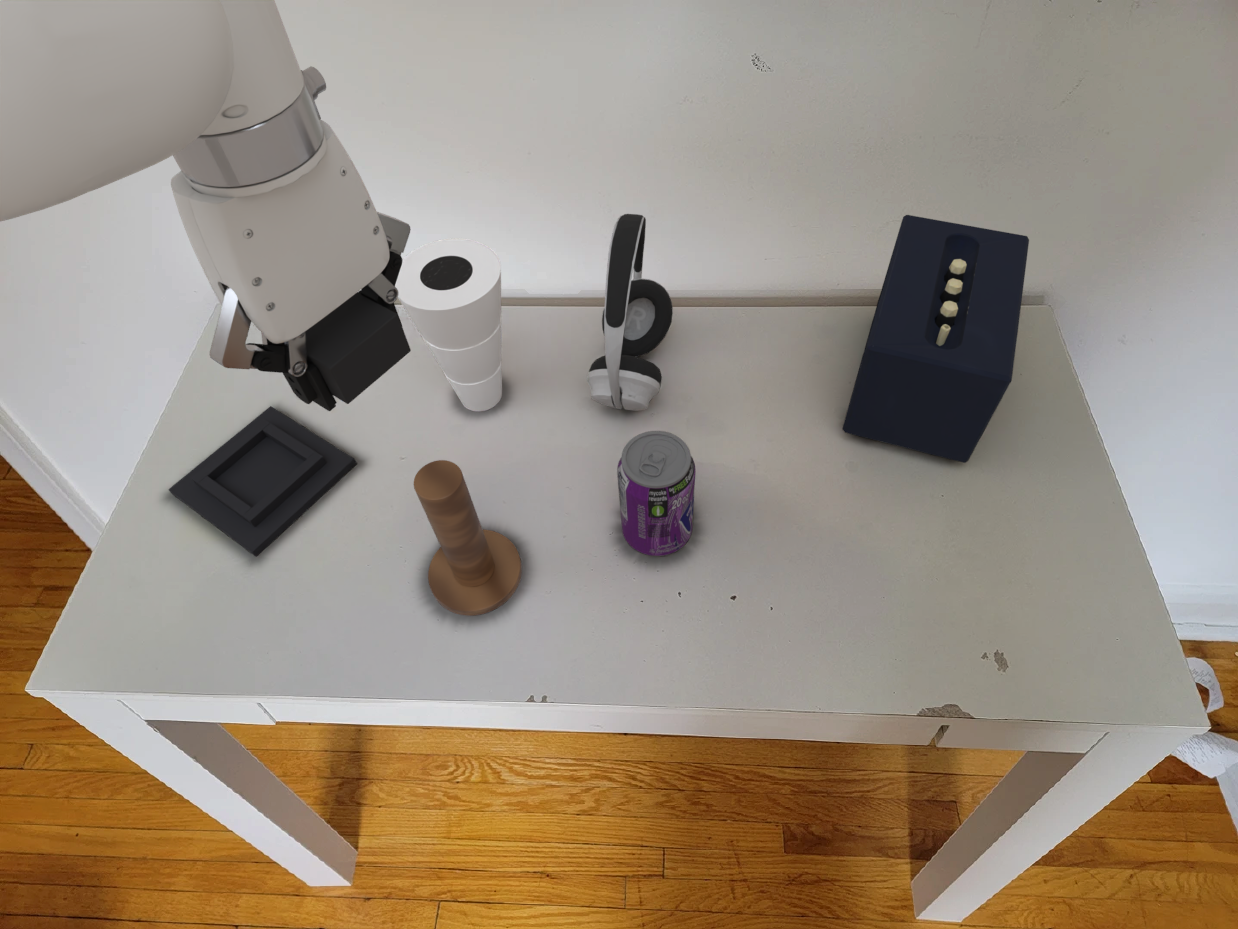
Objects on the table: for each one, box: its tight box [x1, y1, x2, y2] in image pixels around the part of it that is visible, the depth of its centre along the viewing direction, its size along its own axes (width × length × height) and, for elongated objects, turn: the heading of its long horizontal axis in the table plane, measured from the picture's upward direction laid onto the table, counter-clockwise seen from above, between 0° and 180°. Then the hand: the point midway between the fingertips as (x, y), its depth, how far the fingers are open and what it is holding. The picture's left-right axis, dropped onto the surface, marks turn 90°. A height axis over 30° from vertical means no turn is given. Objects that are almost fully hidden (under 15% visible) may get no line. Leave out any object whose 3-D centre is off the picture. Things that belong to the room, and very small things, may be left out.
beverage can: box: [616, 430, 696, 557], centre depth 72 cm, size 7×7×12 cm
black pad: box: [305, 293, 412, 405], centre depth 52 cm, size 6×6×4 cm
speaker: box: [842, 214, 1030, 464], centre depth 81 cm, size 22×13×15 cm, turn 159°
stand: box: [413, 459, 523, 617], centre depth 69 cm, size 9×9×16 cm
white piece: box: [395, 237, 503, 412], centre depth 82 cm, size 11×11×18 cm
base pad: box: [168, 406, 358, 557], centre depth 82 cm, size 14×14×2 cm
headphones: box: [586, 213, 674, 411], centre depth 82 cm, size 19×8×20 cm, turn 172°
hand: (354, 369), depth 54 cm, fingers closed on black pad, 6 cm apart
